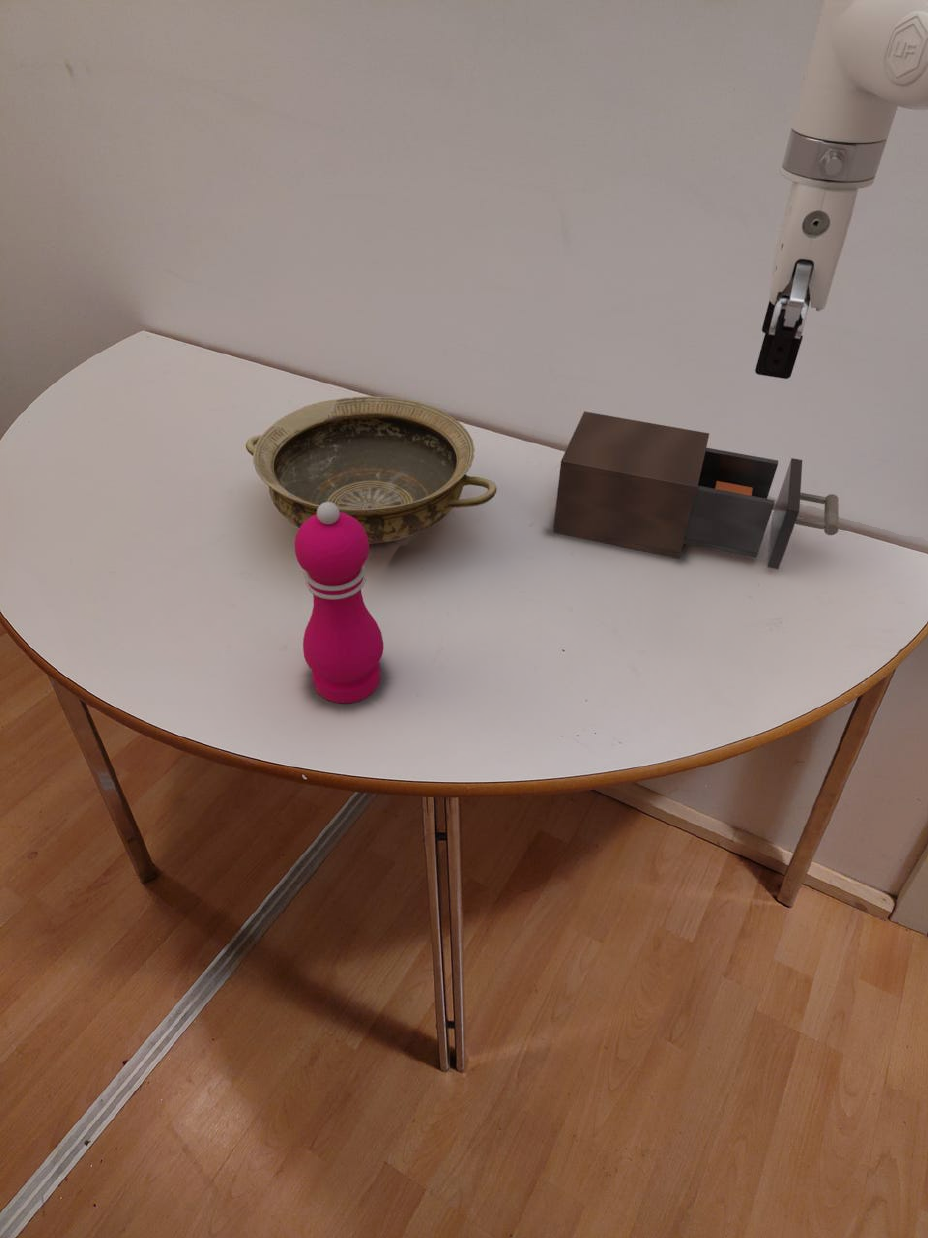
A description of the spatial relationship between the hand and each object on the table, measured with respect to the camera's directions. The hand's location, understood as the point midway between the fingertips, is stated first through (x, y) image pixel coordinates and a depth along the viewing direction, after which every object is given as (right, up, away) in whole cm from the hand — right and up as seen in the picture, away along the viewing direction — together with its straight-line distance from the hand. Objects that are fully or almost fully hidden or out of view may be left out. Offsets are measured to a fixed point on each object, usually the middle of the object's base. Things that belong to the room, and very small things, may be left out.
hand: (774, 353), depth 80 cm
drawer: (+1, -16, +14) cm, 21 cm away
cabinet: (-11, -14, +18) cm, 25 cm away
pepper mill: (-41, -32, -2) cm, 52 cm away
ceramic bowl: (-41, -14, +16) cm, 47 cm away
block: (0, -15, +14) cm, 20 cm away
